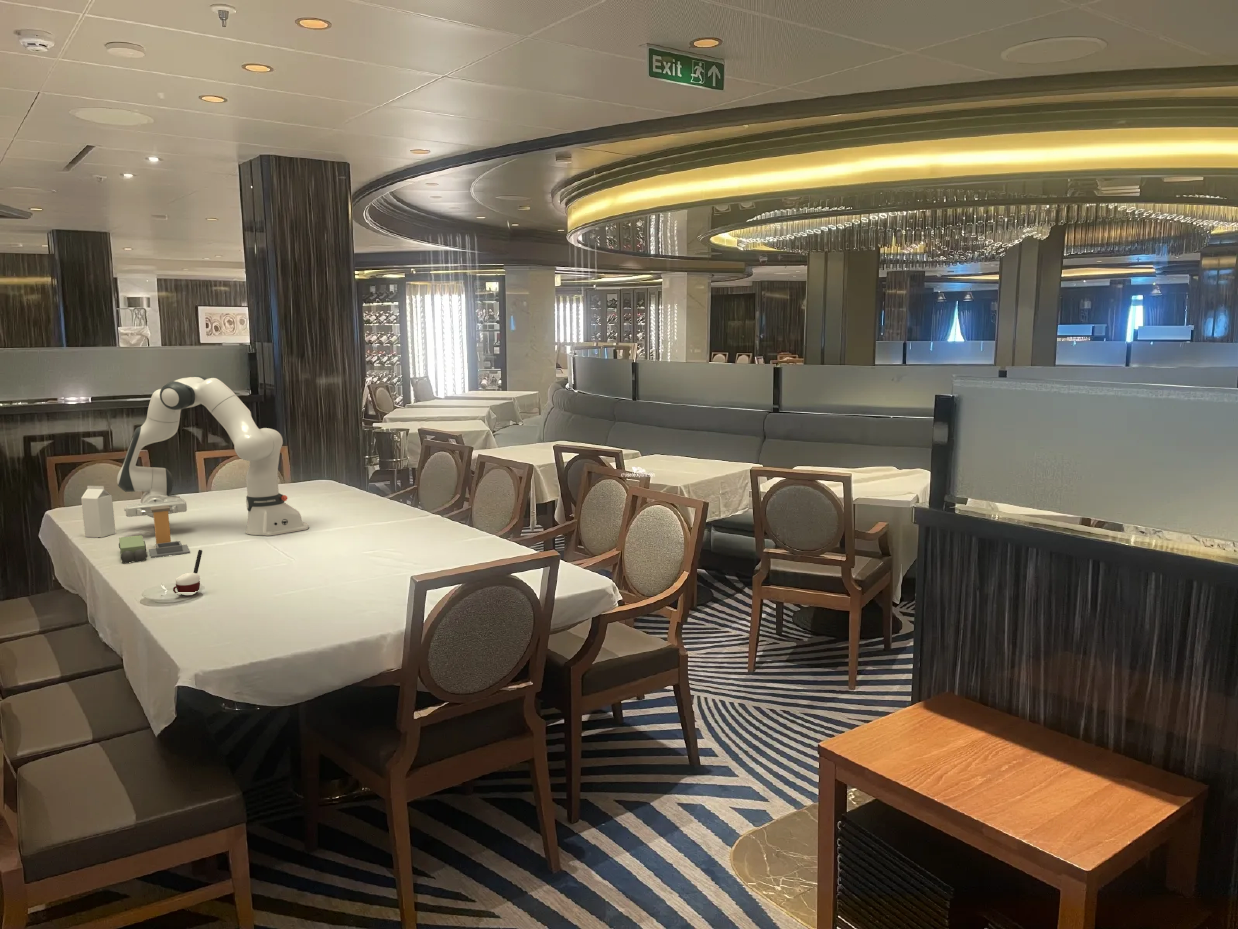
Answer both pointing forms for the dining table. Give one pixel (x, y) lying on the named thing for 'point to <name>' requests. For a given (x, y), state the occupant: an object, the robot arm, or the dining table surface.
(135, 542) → the green dark block
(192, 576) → the cocoa
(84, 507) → the milk carton
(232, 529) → the dining table surface
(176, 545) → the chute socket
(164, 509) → the orange tall block
